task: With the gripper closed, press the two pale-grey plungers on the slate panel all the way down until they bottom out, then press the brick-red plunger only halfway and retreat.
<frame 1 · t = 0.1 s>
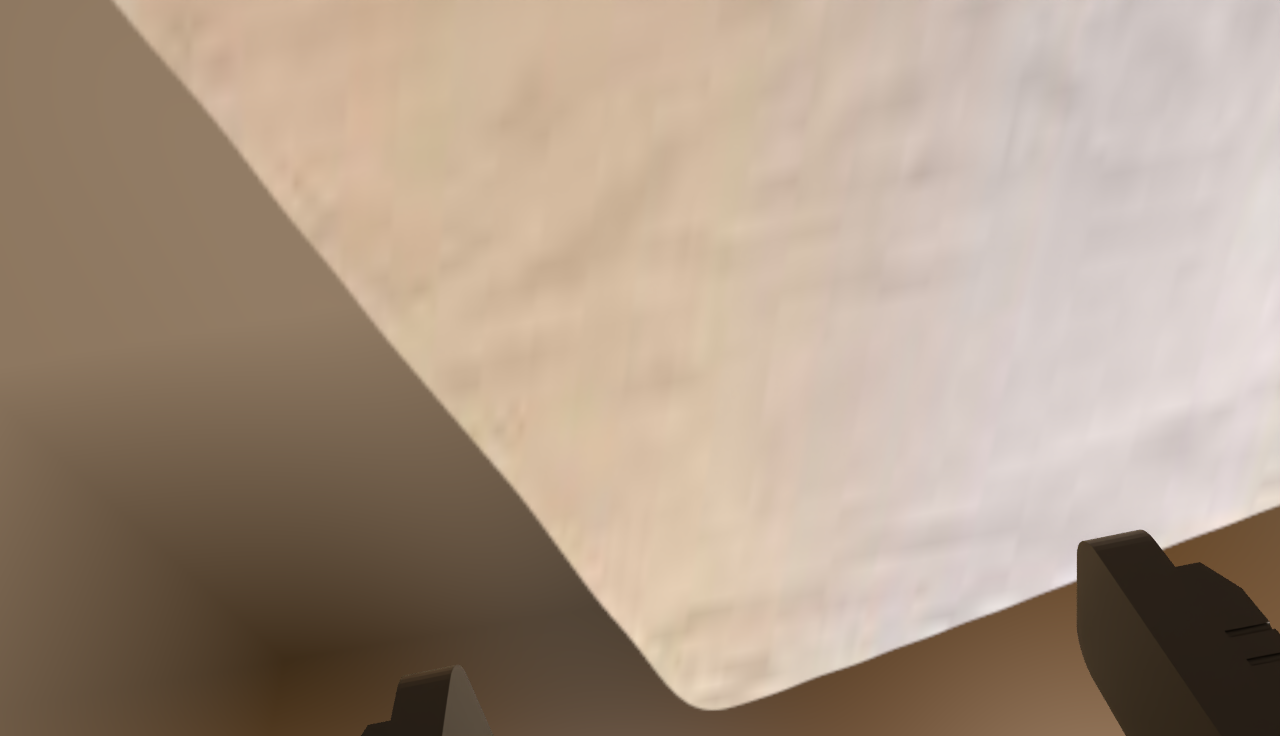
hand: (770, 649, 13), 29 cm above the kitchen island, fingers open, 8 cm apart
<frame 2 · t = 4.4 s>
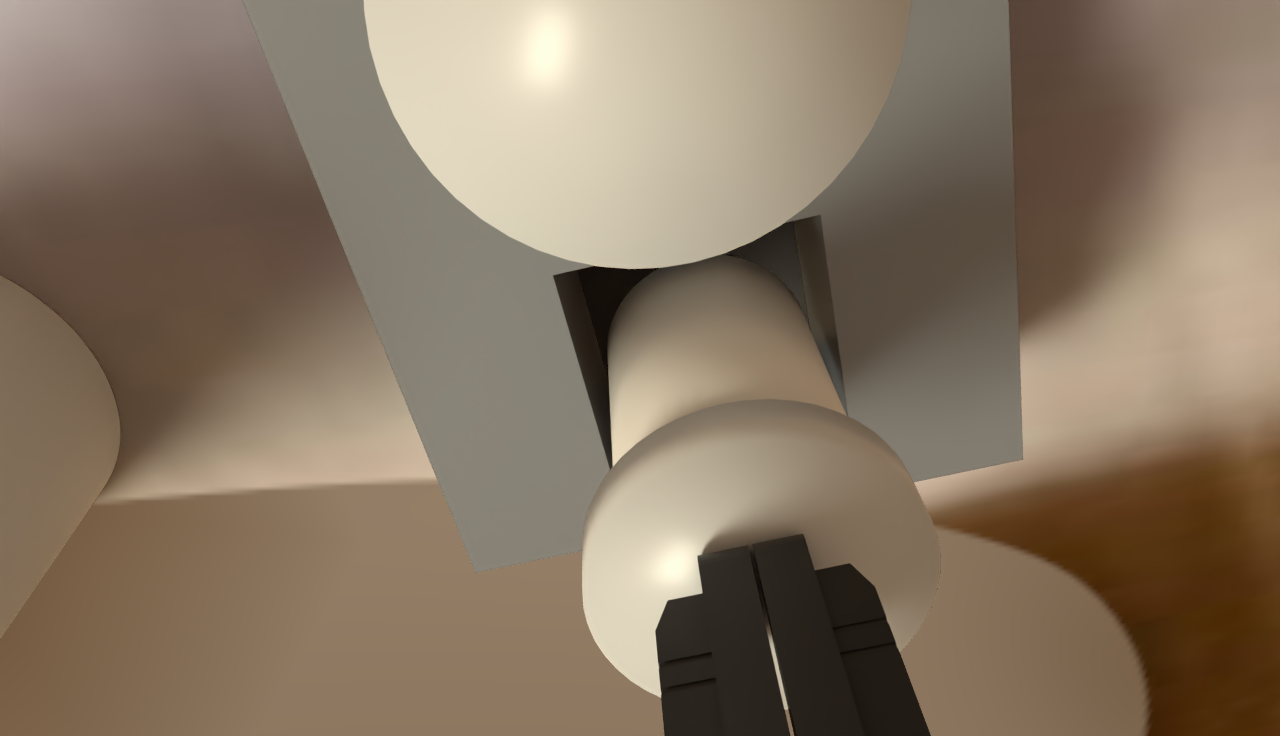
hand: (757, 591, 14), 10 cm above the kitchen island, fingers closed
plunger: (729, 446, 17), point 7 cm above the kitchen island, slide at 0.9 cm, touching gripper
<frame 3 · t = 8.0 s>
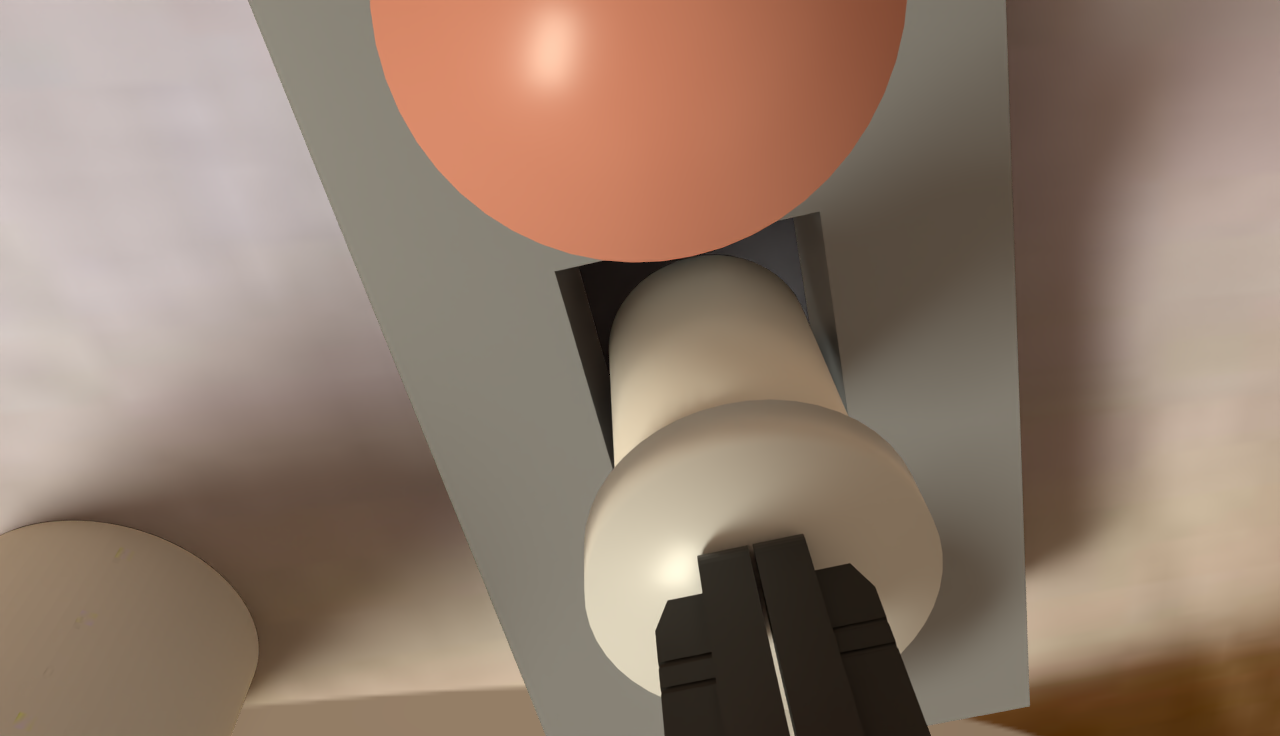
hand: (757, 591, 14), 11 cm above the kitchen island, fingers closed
white cylinder: (111, 630, 28), on the kitchen island
panel: (691, 271, 23), on the kitchen island
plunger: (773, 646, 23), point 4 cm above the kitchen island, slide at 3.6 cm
mid plunger: (731, 446, 17), point 7 cm above the kitchen island, slide at 0.7 cm, touching gripper
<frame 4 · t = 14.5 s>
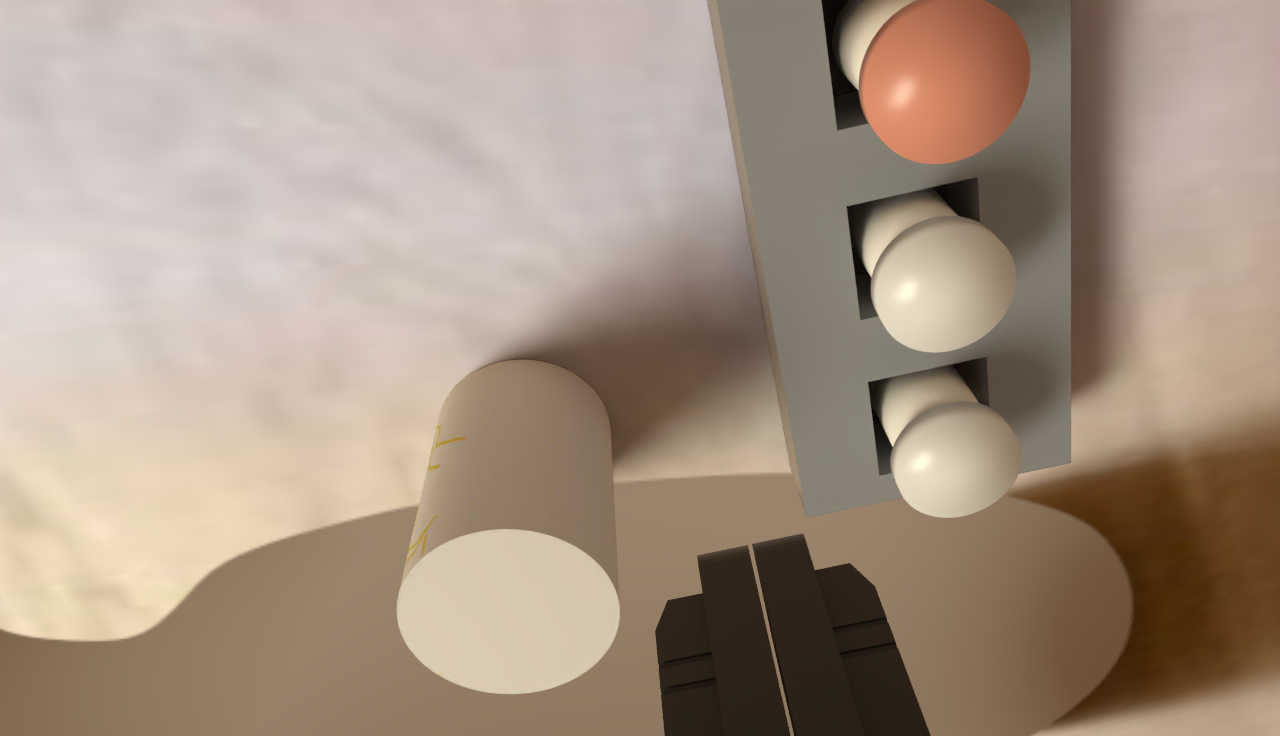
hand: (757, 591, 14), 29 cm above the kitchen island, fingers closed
red plunger: (914, 58, 33), point 6 cm above the kitchen island, slide at 2.0 cm
white cylinder: (524, 432, 47), on the kitchen island
panel: (889, 213, 42), on the kitchen island
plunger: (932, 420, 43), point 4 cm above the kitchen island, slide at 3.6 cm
mid plunger: (918, 252, 39), point 4 cm above the kitchen island, slide at 3.6 cm
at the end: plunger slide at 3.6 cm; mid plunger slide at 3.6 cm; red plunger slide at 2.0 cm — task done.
